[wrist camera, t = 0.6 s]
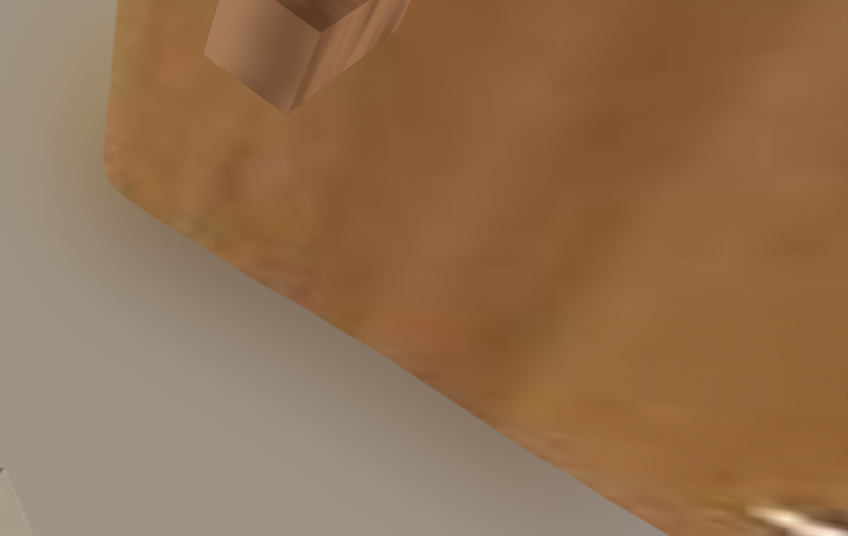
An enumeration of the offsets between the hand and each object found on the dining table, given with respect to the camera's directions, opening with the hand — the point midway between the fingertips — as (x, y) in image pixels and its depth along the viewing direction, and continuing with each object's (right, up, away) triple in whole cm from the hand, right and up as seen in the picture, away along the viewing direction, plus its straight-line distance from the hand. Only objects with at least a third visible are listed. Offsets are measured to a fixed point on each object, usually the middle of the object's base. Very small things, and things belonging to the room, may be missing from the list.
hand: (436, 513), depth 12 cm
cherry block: (-3, +21, +34) cm, 40 cm away
